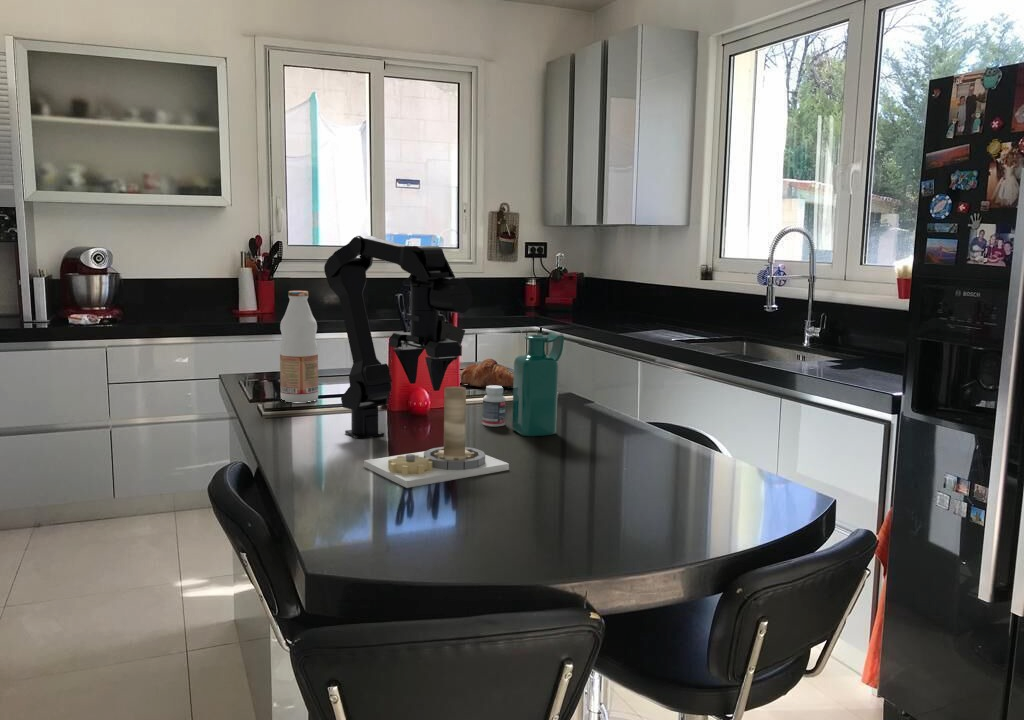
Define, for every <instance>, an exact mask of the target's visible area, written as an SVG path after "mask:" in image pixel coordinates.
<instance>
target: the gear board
mask: <svg viewBox="0 0 1024 720" xmlns="http://www.w3.org/2000/svg"><path fill="white" fill-rule="evenodd" d="M465 449H466V450H468V451H469V452H471V453H473V452H474V458H473V459H466V460H444V459H437V458H435V457H434V453H438V450H444V446H439V447H433V448H430V449H427V450H424V451H417V452H412V453H404V454H398V455H391V456H385V457H379V458H371V459H366V460H363V467H364V468H365V469H368V470H370V471H372V472H374V473H376V474H378V475H380V476H382V477H384V478H386V479H387V480H389V481H392V482H394V483H396V484H398V485H400V486H402V487H404V488H406V489H409V488H414V487H419V486H426V485H430V484H437V483H444V482H448V481H453V480H459V479H464V478H465V479H466V478H469V477H471V478H472V477H477V476H482V475H487V474H493V473H499V472H504V471H509V470H510V464H509V463H508V462H506V461H503V460H501V459H497V458H495V457H492V456H490V455H487V454H485V451H484V450H480V449H478V448H474V447H469V446H468V447H467V446H465Z"/></svg>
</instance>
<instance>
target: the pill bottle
mask: <svg viewBox="0 0 1024 720" xmlns="http://www.w3.org/2000/svg"><path fill="white" fill-rule="evenodd" d="M485 393H486V394H485V395H484V396H483V398H482V425H483V426H486V427H498V428H499V427H503V426H505V425H506V404H507V403H506V397H505V396H504V395H503V394H504V388H503V387H502V386H497V385H490V386H486V388H485Z"/></svg>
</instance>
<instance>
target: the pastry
mask: <svg viewBox="0 0 1024 720" xmlns="http://www.w3.org/2000/svg"><path fill="white" fill-rule="evenodd" d="M459 372H460V376H461V383H462V384H468V385H472V386H476V387H486V386H490V385H497V386H513V383H514V373H511V372H510V370H508V369H507V367H505V366H503V365H500V366H499V364H498V362H497V360H496V359H493V358H486V359H483V361H482V363H480V364H476V363H471V364H468V365H467V366H466V367H465V368H463V369H462V370H461V371H459ZM462 384H461V385H462ZM472 386H471V387H472Z"/></svg>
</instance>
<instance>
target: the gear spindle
mask: <svg viewBox="0 0 1024 720" xmlns="http://www.w3.org/2000/svg"><path fill="white" fill-rule="evenodd" d="M443 392H444V398H443V399H444V400H443V401H444V403H443V405H444V407H443V411H444V412H443V447H444V450H438V453H434V457H435V458H437V459H444V460H466V459H473V458H474V452H473V453H471V452H469V451H468V450H466V449H465V447H466V416H467V415H466V413H467V412H466V411H467V409H466V407H467V388H466V387H463V386H446V387H444V391H443Z"/></svg>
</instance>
